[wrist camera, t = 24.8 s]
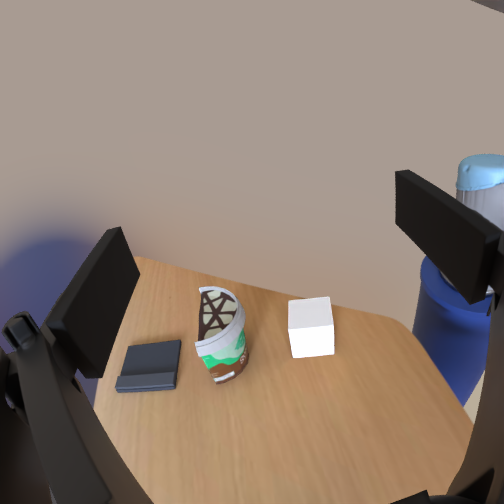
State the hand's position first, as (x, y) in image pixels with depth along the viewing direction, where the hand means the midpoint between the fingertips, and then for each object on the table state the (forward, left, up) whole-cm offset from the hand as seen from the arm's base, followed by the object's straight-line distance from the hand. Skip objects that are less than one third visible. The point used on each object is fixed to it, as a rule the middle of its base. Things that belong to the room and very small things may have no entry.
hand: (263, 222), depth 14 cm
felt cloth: (+22, -19, -30) cm, 41 cm away
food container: (+7, -19, -30) cm, 36 cm away
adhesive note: (-4, -19, -30) cm, 36 cm away
